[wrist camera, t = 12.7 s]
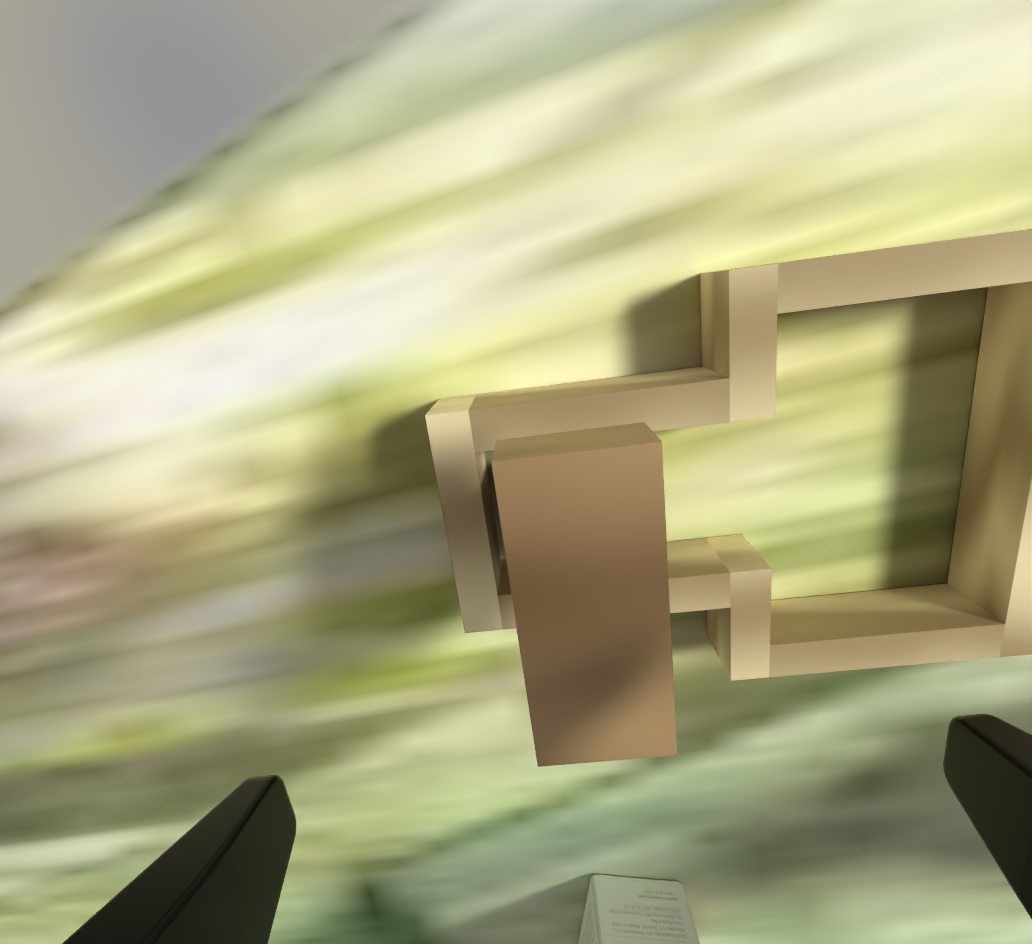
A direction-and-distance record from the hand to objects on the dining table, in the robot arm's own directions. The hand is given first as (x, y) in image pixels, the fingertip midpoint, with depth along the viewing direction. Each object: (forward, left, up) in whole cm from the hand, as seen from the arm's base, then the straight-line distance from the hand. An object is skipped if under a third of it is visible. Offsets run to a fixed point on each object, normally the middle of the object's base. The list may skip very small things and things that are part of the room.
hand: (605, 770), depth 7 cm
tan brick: (0, 0, -11) cm, 11 cm away
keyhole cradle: (0, -5, -11) cm, 12 cm away
